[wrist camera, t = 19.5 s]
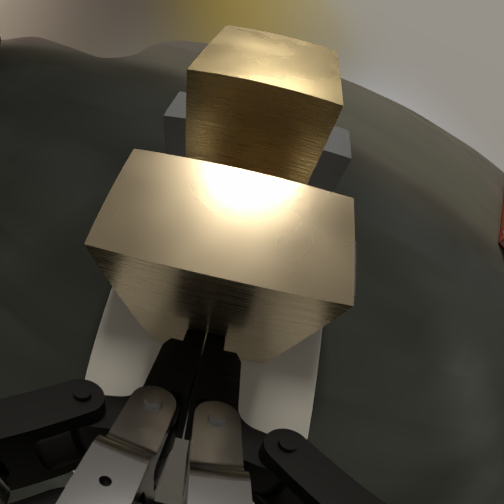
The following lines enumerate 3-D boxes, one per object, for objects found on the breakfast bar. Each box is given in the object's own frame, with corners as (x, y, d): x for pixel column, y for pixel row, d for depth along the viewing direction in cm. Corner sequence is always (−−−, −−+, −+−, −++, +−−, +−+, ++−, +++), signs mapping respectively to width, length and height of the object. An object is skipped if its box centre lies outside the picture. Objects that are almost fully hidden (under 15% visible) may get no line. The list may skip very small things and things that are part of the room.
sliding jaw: (99, 322, 14) (-1, 219, 6) (133, 228, 17) (97, 85, 9) (318, 371, 15) (450, 323, 6) (327, 272, 18) (421, 159, 9)
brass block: (188, 240, 18) (187, 69, 8) (210, 178, 20) (226, 24, 10) (270, 260, 18) (343, 105, 8) (281, 196, 20) (337, 51, 11)
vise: (75, 466, 11) (33, 483, 7) (179, 142, 23) (179, 91, 18) (285, 513, 12) (316, 547, 7) (325, 176, 23) (348, 130, 19)
